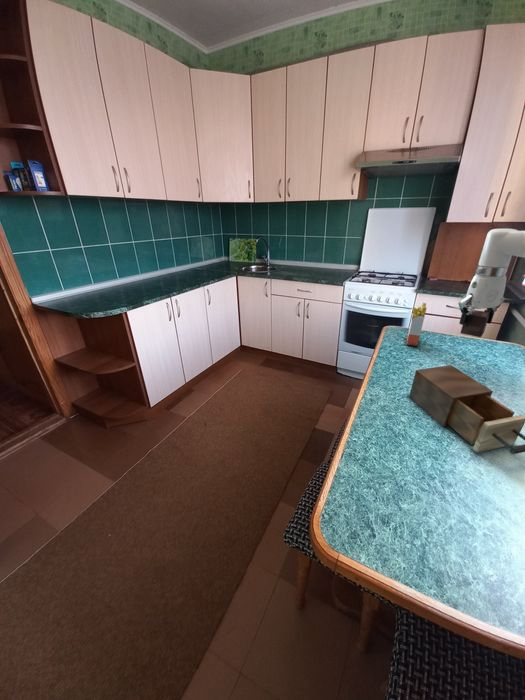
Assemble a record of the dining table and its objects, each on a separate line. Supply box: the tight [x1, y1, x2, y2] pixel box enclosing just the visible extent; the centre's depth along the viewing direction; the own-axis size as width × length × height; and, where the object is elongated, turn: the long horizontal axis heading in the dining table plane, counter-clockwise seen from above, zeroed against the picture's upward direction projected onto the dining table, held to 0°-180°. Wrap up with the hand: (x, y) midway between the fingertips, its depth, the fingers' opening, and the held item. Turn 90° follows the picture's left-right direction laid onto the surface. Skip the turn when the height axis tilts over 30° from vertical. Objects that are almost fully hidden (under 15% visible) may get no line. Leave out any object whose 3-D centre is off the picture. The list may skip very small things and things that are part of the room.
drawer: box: [447, 394, 525, 455], centre depth 74 cm, size 20×11×9 cm, turn 13°
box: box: [459, 309, 490, 338], centre depth 98 cm, size 6×6×7 cm
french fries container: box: [406, 302, 427, 347], centre depth 125 cm, size 5×11×18 cm, turn 153°
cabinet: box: [408, 364, 493, 428], centre depth 86 cm, size 15×13×11 cm
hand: (474, 323), depth 98 cm, fingers closed on box, 8 cm apart
